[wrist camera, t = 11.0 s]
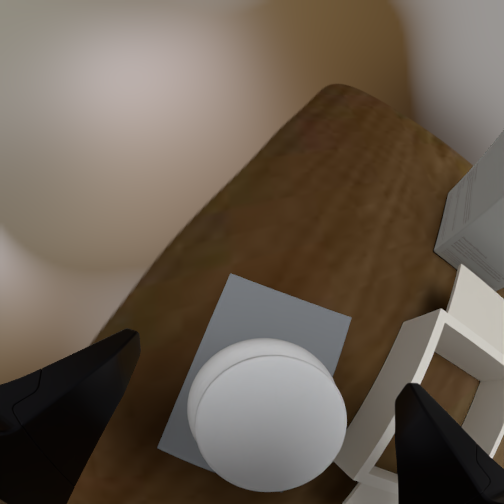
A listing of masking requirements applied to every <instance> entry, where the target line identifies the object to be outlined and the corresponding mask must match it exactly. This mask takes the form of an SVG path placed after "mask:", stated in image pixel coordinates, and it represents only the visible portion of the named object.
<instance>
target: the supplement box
mask: <svg viewBox="0 0 504 504" xmlns="http://www.w3.org/2000/svg"><path fill="white" fill-rule="evenodd" d="M434 252H435V253H437V254H438V255H439V256H440V257H442V258H443V259H444V260H446V261H447V262H448V263H449V264H451V265H452V266H453V267H454V268H456V269H457V270H458V266H459V265H460V264H463V265H464V266H465V267H466V268H468V269H469V270H470V271H471V272H473V273H474V274H475V275H476V276H478V277H479V278H480V279H481V280H482V281H484V282H485V283H486V284H487V285H488V286H489V287H491V288H492V289H493V290H494V291H497V290H499V289H502V288H504V130H503V132H502V133H501V134H500V135H499V137H498V138H497V139H496V140H495V142H494V143H493V144H492V145H491V146H490V148H489V149H488V150H487V151H486V152H485V154H484V155H483V156H482V157H481V158H480V159H479V160H478V162H477V163H476V164H475V165H474V166H473V167H472V168H471V170H470V171H469V172H468V173H467V174H466V175H465V176H464V177H463V178H462V179H461V180H460V181H459V182H458V184H457V185H456V186H455V187H454V188H453V189H452V190H451V191H450V192H449V193H448V196H447V201H446V205H445V210H444V214H443V218H442V222H441V226H440V230H439V234H438V238H437V241H436V245H435V248H434Z"/></svg>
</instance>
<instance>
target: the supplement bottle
mask: <svg viewBox="0 0 504 504" xmlns="http://www.w3.org/2000/svg"><path fill="white" fill-rule="evenodd" d="M187 415H188V421H189V426H190V429H191V432H192V434H193V437H194V439H195V440H196V442H197V445H198V448H199V450H200V452H201V454H202V456H203V458H204V459H205V461H206V462H207V464H208V465H209V466H210V467H211V468H212V469H213V470H214V471H215V472H216V473H217V474H218V475H219V476H220V477H222V478H223V479H225V480H226V481H228V482H230V483H232V484H234V485H236V486H238V487H241V488H244V489H248V490H252V491H258V492H278V491H284V490H289V489H292V488H296V487H298V486H301V485H303V484H305V483H307V482H309V481H311V480H312V479H314V478H316V477H317V476H318V475H320V474H321V473H322V472H323V471H324V470H325V469H326V468H327V467H328V466H329V465H330V464H331V463H332V461H333V460H334V459H335V457H336V456H337V454H338V453H339V451H340V449H341V447H342V444H343V441H344V438H345V434H346V427H347V413H346V408H345V404H344V401H343V398H342V396H341V394H340V392H339V390H338V388H337V387H336V385H335V383H334V380H333V378H332V376H331V374H330V373H329V371H328V370H327V368H326V367H325V366H324V365H323V363H322V362H321V361H320V360H319V359H317V358H316V357H315V356H314V355H313V354H312V353H310V352H309V351H307V350H306V349H304V348H302V347H300V346H298V345H296V344H293V343H291V342H288V341H284V340H279V339H273V338H256V339H250V340H244V341H241V342H237V343H235V344H232V345H230V346H228V347H226V348H224V349H222V350H221V351H219V352H218V353H216V354H215V355H214V356H212V357H211V358H210V359H209V360H208V361H207V362H206V363H205V364H204V365H203V367H202V368H201V369H200V370H199V372H198V374H197V375H196V377H195V379H194V381H193V383H192V385H191V389H190V392H189V396H188V403H187Z"/></svg>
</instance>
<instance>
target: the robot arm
mask: <svg viewBox="0 0 504 504" xmlns="http://www.w3.org/2000/svg"><path fill="white" fill-rule="evenodd" d="M140 351H141V349H140V338H139V333H138V332H137V331H134V330H131V329H124V330H122V331H120V332H118V333H116V334H114V335H112V336H109V337H107V338H105V339H103V340H101V341H99V342H97V343H95V344H93V345H91V346H89V347H86V348H85V349H82V350H80V351H78V352H76V353H74V354H72V355H70V356H67V357H65V358H63V359H61V360H59V361H57V362H55V363H52V364H51V365H48V366H46V367H44V368H42V369H39V370H37V371H35V372H33V373H31V374H28V375H26V376H24V377H21V378H19V379H16V380H13V381H11V382H8V383H5V384H2V385H0V504H67V502H68V500H69V498H70V496H71V494H72V492H73V490H74V488H75V487H74V486H75V485H76V483H77V481H78V479H79V477H80V475H81V473H82V471H83V469H84V467H85V465H86V463H87V461H88V459H89V458H90V456H91V454H92V452H93V450H94V448H95V446H96V444H97V442H98V440H99V438H100V437H101V435H102V433H103V431H104V429H105V427H106V425H107V424H108V422H109V420H110V418H111V416H112V414H113V413H114V411H115V409H116V407H117V405H118V404H119V402H120V400H121V398H122V396H123V394H124V392H125V390H126V388H127V385H128V383H129V380H130V378H131V375H132V373H133V371H134V368H135V366H136V363H137V361H138V359H139V356H140ZM395 447H396V459H397V474H398V504H504V469H503V468H502V467H501V466H500V465H498V464H497V463H496V462H495V461H494V460H493V459H492V458H491V457H490V456H489V455H488V454H487V453H486V452H485V451H484V450H483V449H482V448H481V447H480V446H479V445H478V444H476V442H475V441H474V440H473V439H472V438H471V437H470V436H469V434H468V433H467V432H466V431H465V430H464V429H463V428H462V427H461V426H460V425H459V424H458V423H457V422H456V421H455V420H454V419H453V418H452V417H451V416H450V415H449V414H448V413H447V412H446V411H445V410H444V409H443V408H442V407H441V406H440V405H439V404H438V403H437V402H436V401H435V400H434V399H433V398H432V397H431V396H430V395H429V394H428V393H427V392H426V391H425V390H424V389H423V388H422V387H421V386H420V385H419V384H418V383H407V384H406V385H405V386H404V388H403V389H402V391H401V392H400V393H399V395H398V396H397V398H396V400H395Z"/></svg>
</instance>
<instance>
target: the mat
mask: <svg viewBox="0 0 504 504" xmlns="http://www.w3.org/2000/svg"><path fill="white" fill-rule="evenodd" d="M350 321H351V317H348V316H345V315H343V314H340V313H337V312H334V311H331V310H328V309H326V308H323V307H320V306H317V305H314V304H312V303H309V302H306V301H303V300H301V299H298V298H295V297H292V296H290V295H287V294H284V293H282V292H279V291H276V290H273V289H271V288H268V287H265V286H263V285H260V284H257V283H255V282H252V281H249V280H247V279H244V278H242V277H239V276H236V275H234V274H230V276H229V278H228V280H227V283H226V285H225V287H224V290H223V292H222V294H221V297H220V299H219V301H218V304H217V306H216V308H215V311H214V313H213V315H212V318H211V320H210V322H209V325H208V327H207V330H206V332H205V334H204V337H203V339H202V341H201V344H200V346H199V348H198V351H197V353H196V355H195V358H194V360H193V363H192V365H191V367H190V370H189V372H188V375H187V377H186V379H185V382H184V384H183V386H182V389H181V391H180V394H179V396H178V398H177V401H176V403H175V406H174V408H173V411H172V413H171V415H170V418H169V420H168V423H167V425H166V428H165V430H164V432H163V435H162V437H161V440H160V442H159V445H158V447H157V448H158V449H160V450H162V451H164V452H167V453H169V454H171V455H173V456H175V457H178V458H180V459H182V460H184V461H187V462H189V463H192V464H194V465H196V466H199V467H202V468H204V469H207V470H209V471H212V472H215V471H214V470H213V469H212V468H211V467H210V466H209V465H208V464H207V462H206V461H205V459H204V458H203V456H202V454H201V452H200V450H199V448H198V445H197V442H196V440H195V439H194V437H193V434H192V432H191V429H190V426H189V421H188V415H187V403H188V396H189V392H190V389H191V385H192V383H193V381H194V379H195V377H196V375H197V374H198V372H199V370H200V369H201V368H202V367H203V365H204V364H205V363H206V362H207V361H208V360H209V359H210V358H211V357H212V356H214V355H215V354H216V353H218V352H219V351H221V350H222V349H224V348H226V347H228V346H230V345H232V344H235V343H237V342H241V341H244V340H250V339H256V338H273V339H279V340H284V341H288V342H291V343H293V344H296V345H298V346H300V347H302V348H304V349H306V350H307V351H309V352H310V353H312V354H313V355H314V356H315V357H316V358H317V359H319V360H320V361H321V362H322V363H323V365H324V366H325V367H326V368H327V370H328V371H329V373H330V374H331V376H332V377H333V374H334V371H335V368H336V365H337V362H338V359H339V356H340V353H341V350H342V347H343V344H344V341H345V338H346V334H347V331H348V328H349V324H350ZM215 473H216V472H215ZM279 492H283V491H279Z"/></svg>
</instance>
